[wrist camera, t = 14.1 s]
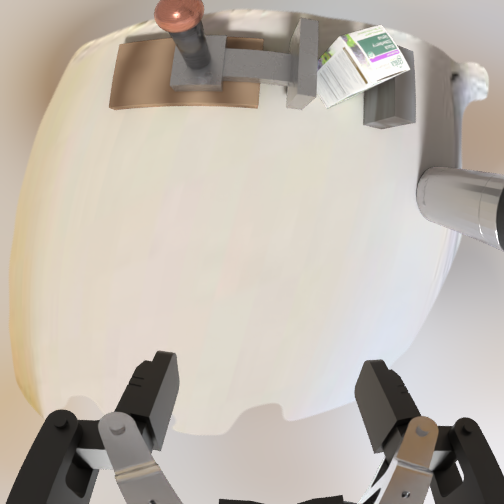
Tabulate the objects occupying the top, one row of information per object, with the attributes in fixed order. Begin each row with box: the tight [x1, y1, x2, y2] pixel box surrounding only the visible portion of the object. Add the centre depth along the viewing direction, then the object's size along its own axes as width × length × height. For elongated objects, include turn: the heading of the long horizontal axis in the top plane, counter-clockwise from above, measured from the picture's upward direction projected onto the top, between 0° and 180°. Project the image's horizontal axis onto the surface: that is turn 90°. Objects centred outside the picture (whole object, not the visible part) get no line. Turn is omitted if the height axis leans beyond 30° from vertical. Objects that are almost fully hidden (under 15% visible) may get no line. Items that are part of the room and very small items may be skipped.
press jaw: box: [154, 0, 318, 110], centre depth 22 cm, size 16×10×17 cm, turn 86°
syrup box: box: [316, 25, 410, 109], centre depth 26 cm, size 6×6×14 cm
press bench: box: [109, 37, 416, 129], centre depth 28 cm, size 38×10×9 cm, turn 86°
